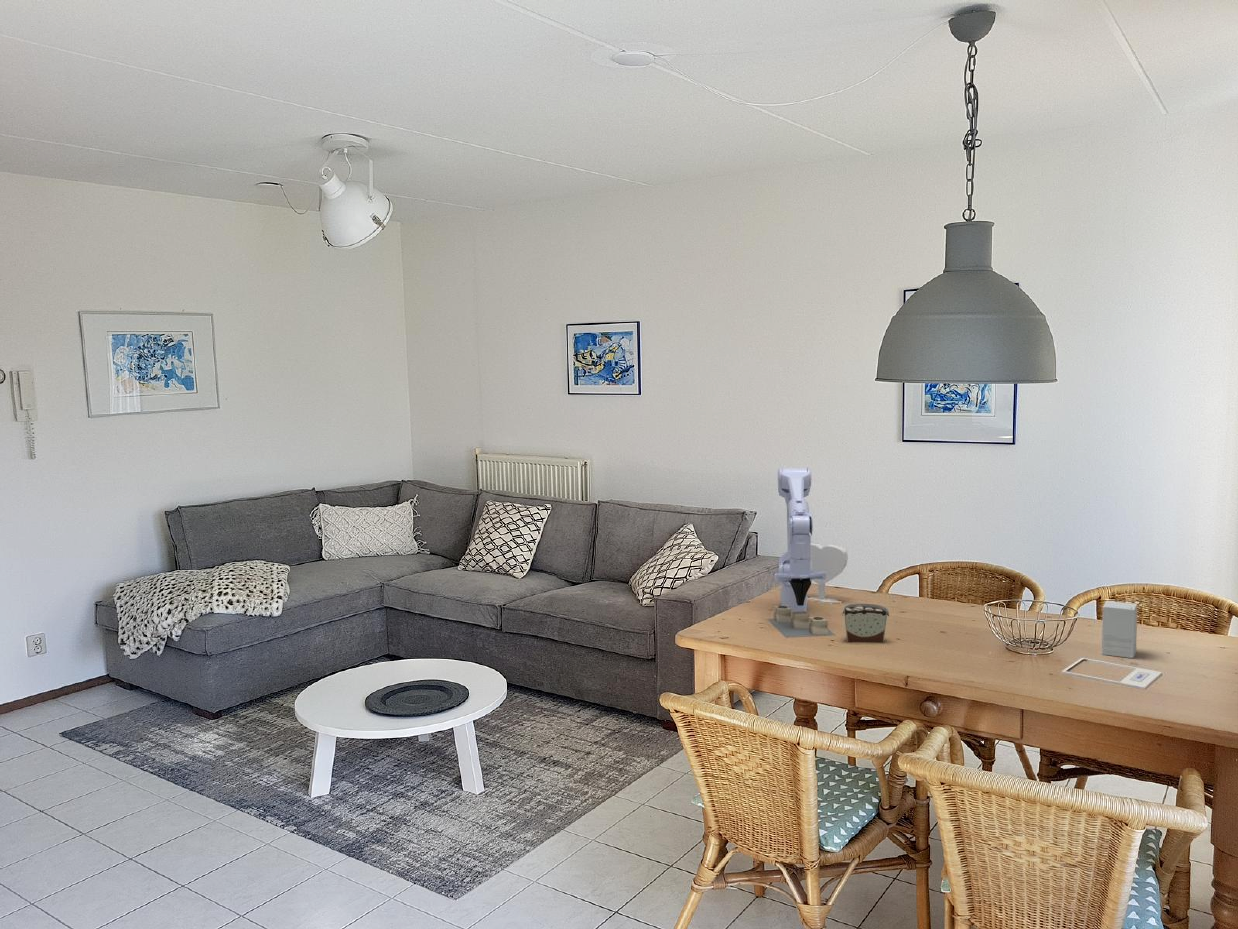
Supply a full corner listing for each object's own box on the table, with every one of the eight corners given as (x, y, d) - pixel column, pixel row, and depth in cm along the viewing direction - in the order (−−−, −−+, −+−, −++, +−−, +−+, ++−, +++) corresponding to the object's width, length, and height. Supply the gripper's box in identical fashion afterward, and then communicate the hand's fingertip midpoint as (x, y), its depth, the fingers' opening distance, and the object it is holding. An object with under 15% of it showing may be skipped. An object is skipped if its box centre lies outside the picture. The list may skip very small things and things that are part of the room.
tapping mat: (766, 621, 279) (766, 618, 279) (812, 619, 280) (812, 616, 280) (786, 640, 259) (786, 637, 259) (835, 638, 261) (835, 635, 261)
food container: (885, 639, 259) (885, 603, 258) (889, 645, 253) (889, 608, 252) (838, 638, 260) (839, 602, 259) (841, 645, 254) (842, 608, 253)
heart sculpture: (848, 601, 302) (848, 545, 300) (843, 604, 297) (844, 547, 296) (800, 596, 309) (800, 541, 307) (795, 599, 305) (795, 544, 303)
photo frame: (1144, 686, 215) (1061, 670, 228) (1144, 691, 216) (1061, 675, 228) (1162, 671, 226) (1081, 656, 238) (1161, 676, 226) (1081, 661, 238)
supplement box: (1136, 651, 244) (1138, 603, 243) (1133, 659, 238) (1135, 609, 237) (1104, 647, 248) (1106, 599, 247) (1100, 654, 242) (1102, 605, 241)
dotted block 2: (808, 631, 265) (809, 616, 264) (822, 630, 265) (822, 616, 265) (813, 635, 261) (813, 620, 260) (827, 634, 261) (827, 619, 261)
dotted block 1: (774, 619, 278) (774, 605, 278) (787, 618, 278) (787, 604, 278) (777, 622, 274) (777, 608, 274) (791, 622, 274) (791, 608, 274)
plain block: (791, 625, 271) (791, 611, 271) (804, 624, 272) (804, 610, 271) (795, 628, 267) (795, 615, 267) (809, 628, 268) (809, 614, 268)
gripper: (779, 561, 263) (779, 609, 264) (829, 559, 265) (829, 607, 266) (772, 556, 270) (772, 603, 271) (821, 554, 272) (821, 601, 273)
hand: (800, 605), depth 269 cm, fingers closed
